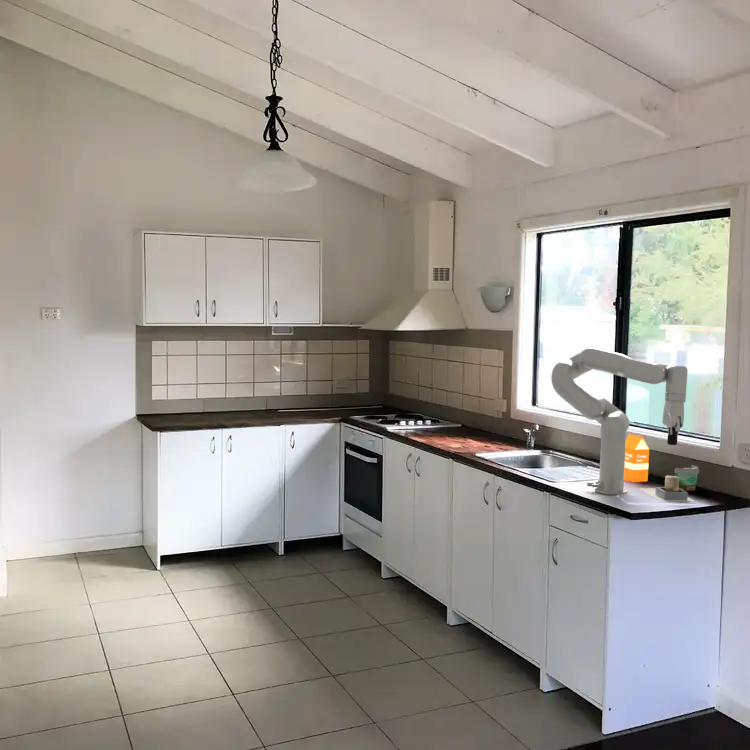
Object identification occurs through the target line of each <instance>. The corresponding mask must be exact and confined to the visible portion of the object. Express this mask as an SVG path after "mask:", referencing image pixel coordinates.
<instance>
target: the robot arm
mask: <svg viewBox="0 0 750 750" xmlns="http://www.w3.org/2000/svg"><path fill="white" fill-rule="evenodd" d="M592 370H595V371H599V372H603V373H607V374H611V375H615V376H618V377H622V378H626V379H631V380H634V381H637V382H642V383H646V384H650V385H658V384H661V383H665V392H664V406H663V414H662V425H663V426H665V427H666V428H667V441H666V442H667V443H666V444H667V445H669V446H677V445H678V436H679V432H681V428H683V427H684V422H685V421H684V420H685V403H686V400H687V385H688V368H687V366H684V365H673V364H672V365H666V364H662V363H653V364H652V363H648V362H645V361H640V360H636V359H634V358H631V357H629V356H628V355H625V354H623V353H619V352H614V351H610V350H609V351H608V350H604V349H601V348H599V347H598V346H588V347H584V348H583V349H582V351H581V352H579V353H577V354H575V355H574V356H571V357H570V358H568V359H566V360H563V361H559V362H557V363H556V364H555V366H553V369H552V371H551V379H550V380H551V384H552V387H553V389H554V391H555V393H556V394H557V395H558V396H559V397H560V398H561V399H562V400H563V401H565V402H566V403H568V404H569V405H570V406H571V407H572V408H574V410H575V411H577V412H578V413H580V414H581V415H582V416H583V417H584V418H586V419H588V420H590V421H595V422H597V423H598V424H600V458H599V459H600V460H599V478H598V479H596V480H595V481H587V482H586V486H587V487H592V488H594V491H595V492H597V493H598V494H601V493H602V495H607V494H609V495H610V496H618V495H622V494H623V495H624V494H627V493H628V489H626V488H624V487H625V485H624V484H625V480H624V470H625V449H626V439H627V431H628V430H629V428H630V420H629V417H628V415H626V414H625V413H624V412H623V411H622V410H620V409H619V408H618V407H617V406H615V405H614V404H613V403H612V402H610V401H609V400H608V399H606V398H605V397H603V396H601V395H598V394H594V395H593V394H591V393H590V392H589V391H587V390H586V389H585V388H584V387H583V386H582V385H580V384H578V383H577V382H575V379H577V378H579V377H581V376H582V375H584V374H587V373H588V372H590V371H592Z"/></svg>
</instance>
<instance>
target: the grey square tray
mask: <svg viewBox="0 0 750 750" xmlns="http://www.w3.org/2000/svg"><path fill="white" fill-rule="evenodd" d="M655 488H656V491H655V495H657V496H659V497H660V498H662V499H664V500H687V497H689V496H688V494H689V493H688V492H689V491H684V490H682V489H680V488H679V489H678V492H666V491H665V486H656V487H655Z"/></svg>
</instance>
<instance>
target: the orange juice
mask: <svg viewBox="0 0 750 750" xmlns="http://www.w3.org/2000/svg"><path fill="white" fill-rule="evenodd" d="M649 459H650V448H649V446H648V444H647V442H646V440H645V439H644V437H643V436H641V435H637V434H632V433H629V434H628V436H626V449H625V470H624V481H628V482H631V483H641V482H648V477H649Z"/></svg>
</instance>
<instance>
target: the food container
mask: <svg viewBox="0 0 750 750" xmlns="http://www.w3.org/2000/svg"><path fill="white" fill-rule="evenodd" d="M673 473H674V476H677V477H679V488H680V489H682V490H684V491H686V492H695V491H696V488H697V480H698V475H699V474H700V469H699V467H698V466H697V465H692V464H691V466H690V467H681V468H679V467H675V469H674V472H673Z"/></svg>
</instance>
